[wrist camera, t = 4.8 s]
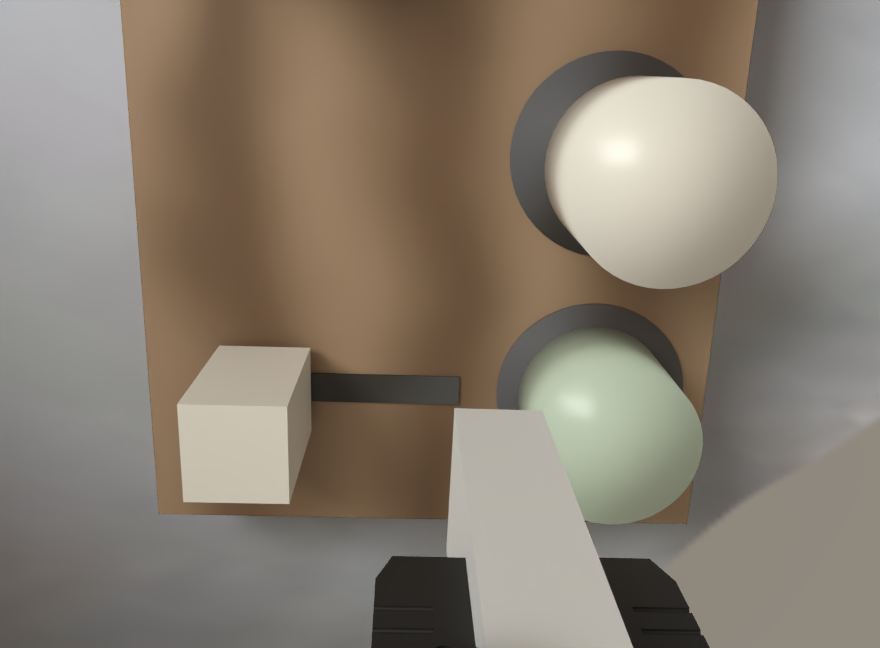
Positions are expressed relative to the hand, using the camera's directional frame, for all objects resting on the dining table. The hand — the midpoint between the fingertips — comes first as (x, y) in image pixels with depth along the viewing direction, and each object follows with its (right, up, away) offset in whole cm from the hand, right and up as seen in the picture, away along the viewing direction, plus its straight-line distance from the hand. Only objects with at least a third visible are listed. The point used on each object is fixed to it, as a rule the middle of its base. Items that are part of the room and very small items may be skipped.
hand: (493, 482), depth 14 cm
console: (-1, +9, +16) cm, 18 cm away
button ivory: (+5, +7, +9) cm, 13 cm away
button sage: (+4, 0, +14) cm, 15 cm away
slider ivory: (-7, +1, +14) cm, 15 cm away
